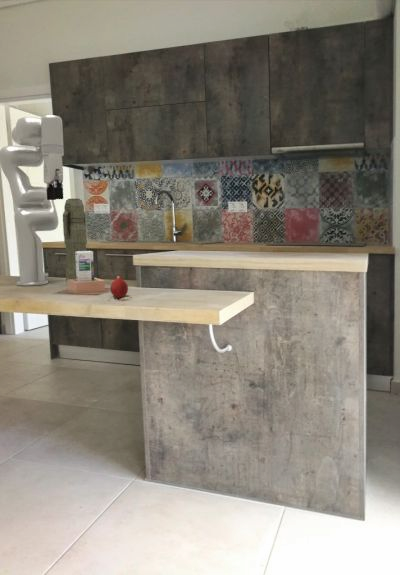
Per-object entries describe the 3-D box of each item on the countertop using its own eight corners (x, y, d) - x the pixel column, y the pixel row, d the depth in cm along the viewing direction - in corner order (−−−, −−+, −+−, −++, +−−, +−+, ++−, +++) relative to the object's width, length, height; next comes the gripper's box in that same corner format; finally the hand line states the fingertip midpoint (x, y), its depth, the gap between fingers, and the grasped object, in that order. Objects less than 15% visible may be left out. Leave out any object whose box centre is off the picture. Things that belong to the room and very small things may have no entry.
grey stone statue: (59, 288, 211) (55, 198, 206) (76, 284, 222) (72, 199, 217) (78, 289, 208) (74, 198, 203) (94, 285, 219) (91, 198, 214)
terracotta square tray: (67, 290, 196) (67, 279, 195) (95, 288, 201) (94, 277, 201) (76, 293, 187) (75, 282, 186) (105, 291, 192) (104, 280, 192)
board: (75, 290, 205) (75, 287, 205) (119, 291, 201) (119, 288, 200) (51, 297, 188) (51, 293, 188) (98, 298, 183) (97, 295, 183)
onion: (120, 297, 185) (119, 274, 184) (131, 299, 182) (131, 275, 181) (107, 299, 181) (106, 276, 180) (118, 301, 177) (118, 277, 176)
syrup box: (78, 292, 191) (77, 251, 189) (76, 290, 196) (75, 250, 194) (94, 291, 193) (93, 251, 191) (92, 289, 198) (90, 250, 196)
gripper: (36, 153, 198) (38, 200, 200) (48, 148, 183) (51, 198, 185) (56, 154, 202) (58, 200, 204) (70, 149, 187) (72, 198, 189)
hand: (55, 199), depth 195 cm, fingers open, 9 cm apart
